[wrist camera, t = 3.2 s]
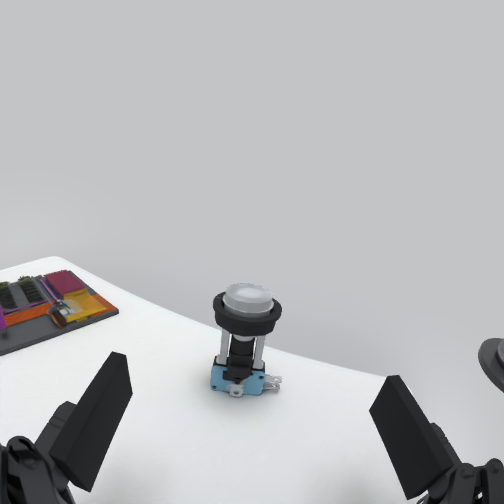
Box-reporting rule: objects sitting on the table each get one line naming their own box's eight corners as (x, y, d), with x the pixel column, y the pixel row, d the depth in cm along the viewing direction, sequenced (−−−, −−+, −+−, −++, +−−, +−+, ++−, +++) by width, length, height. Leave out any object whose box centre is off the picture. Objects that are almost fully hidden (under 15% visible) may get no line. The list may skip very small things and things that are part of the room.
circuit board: (70, 273, 40) (69, 258, 39) (118, 313, 32) (117, 294, 31) (-47, 304, 19) (-51, 287, 18) (-45, 371, 11) (-55, 349, 10)
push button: (277, 373, 26) (296, 285, 23) (279, 410, 21) (306, 315, 18) (212, 365, 26) (219, 275, 23) (203, 402, 21) (208, 302, 18)
